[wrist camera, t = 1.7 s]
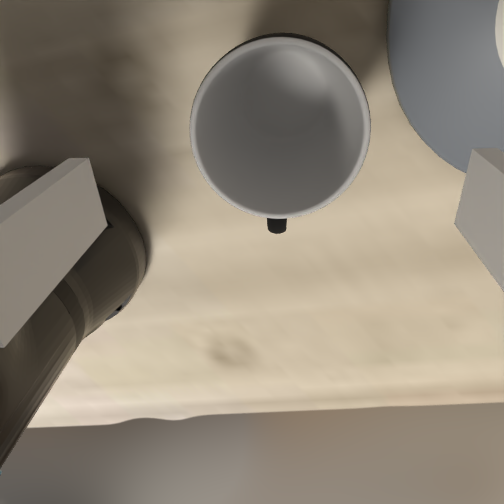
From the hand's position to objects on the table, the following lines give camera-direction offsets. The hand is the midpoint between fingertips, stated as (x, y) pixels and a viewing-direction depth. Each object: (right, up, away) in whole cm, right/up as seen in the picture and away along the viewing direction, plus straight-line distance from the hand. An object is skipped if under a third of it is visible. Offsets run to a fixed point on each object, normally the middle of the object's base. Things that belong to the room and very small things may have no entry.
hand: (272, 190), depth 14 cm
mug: (+2, +8, +15) cm, 17 cm away
